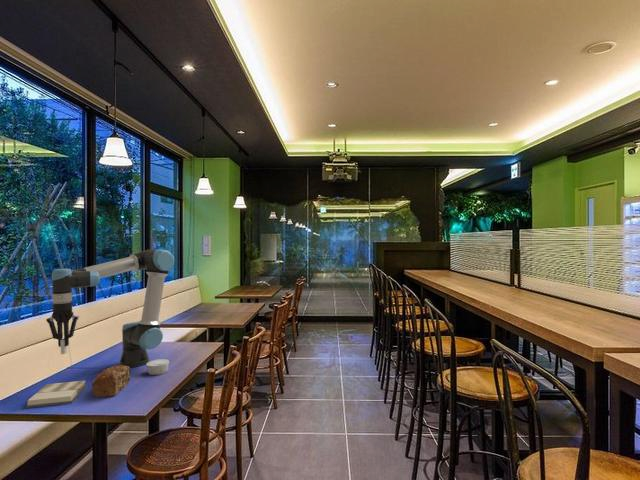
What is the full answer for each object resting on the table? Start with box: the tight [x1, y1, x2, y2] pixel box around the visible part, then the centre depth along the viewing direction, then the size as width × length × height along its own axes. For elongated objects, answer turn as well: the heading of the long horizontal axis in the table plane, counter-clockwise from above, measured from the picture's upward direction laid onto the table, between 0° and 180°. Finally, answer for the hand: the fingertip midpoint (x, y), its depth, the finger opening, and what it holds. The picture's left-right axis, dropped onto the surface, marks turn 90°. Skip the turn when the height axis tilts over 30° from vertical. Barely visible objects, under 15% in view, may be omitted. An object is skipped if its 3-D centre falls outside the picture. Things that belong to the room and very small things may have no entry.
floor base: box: [25, 383, 88, 409], centre depth 177 cm, size 17×20×3 cm
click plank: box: [36, 380, 87, 393], centre depth 181 cm, size 16×11×2 cm
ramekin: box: [145, 358, 170, 376], centre depth 208 cm, size 11×11×5 cm
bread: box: [91, 364, 131, 398], centre depth 185 cm, size 19×11×10 cm, turn 6°
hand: (63, 353), depth 183 cm, fingers closed
